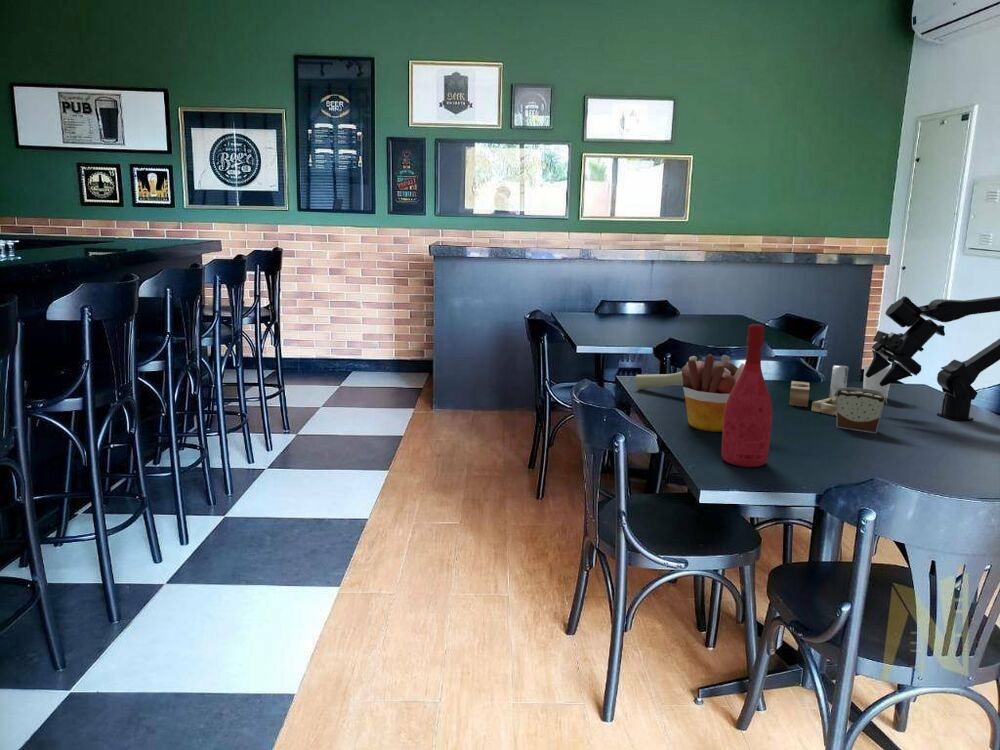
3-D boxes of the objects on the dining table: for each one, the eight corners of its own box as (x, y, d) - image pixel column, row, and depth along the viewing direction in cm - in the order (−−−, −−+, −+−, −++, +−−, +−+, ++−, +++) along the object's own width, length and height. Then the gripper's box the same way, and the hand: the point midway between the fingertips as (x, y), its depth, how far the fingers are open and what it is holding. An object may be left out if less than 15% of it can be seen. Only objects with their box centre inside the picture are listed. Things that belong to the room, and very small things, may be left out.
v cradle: (833, 406, 214) (834, 398, 213) (850, 418, 200) (851, 409, 200) (804, 404, 214) (805, 396, 214) (819, 416, 201) (820, 407, 200)
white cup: (882, 395, 231) (886, 364, 229) (893, 401, 223) (897, 368, 221) (856, 394, 231) (860, 363, 229) (866, 399, 224) (870, 367, 222)
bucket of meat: (689, 414, 200) (695, 342, 196) (752, 423, 191) (759, 348, 188) (666, 430, 183) (672, 351, 179) (734, 441, 174) (742, 359, 171)
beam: (789, 396, 225) (791, 380, 224) (807, 398, 223) (809, 382, 222) (789, 405, 214) (790, 387, 213) (807, 407, 212) (809, 389, 211)
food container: (886, 429, 189) (891, 391, 187) (882, 434, 184) (888, 395, 182) (834, 421, 196) (839, 385, 194) (830, 426, 191) (834, 388, 189)
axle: (846, 412, 206) (851, 367, 203) (835, 414, 204) (841, 368, 202) (834, 409, 210) (840, 364, 207) (824, 410, 208) (829, 365, 205)
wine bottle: (757, 455, 164) (770, 321, 158) (775, 469, 154) (789, 327, 148) (714, 454, 164) (725, 320, 158) (729, 468, 154) (741, 326, 148)
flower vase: (647, 412, 232) (757, 406, 210) (628, 406, 223) (741, 399, 201) (648, 375, 234) (756, 365, 213) (629, 368, 225) (741, 357, 203)
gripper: (878, 314, 210) (839, 355, 213) (909, 326, 192) (865, 372, 195) (907, 337, 211) (867, 378, 215) (940, 352, 193) (896, 397, 197)
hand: (873, 380), depth 205 cm, fingers open, 9 cm apart
